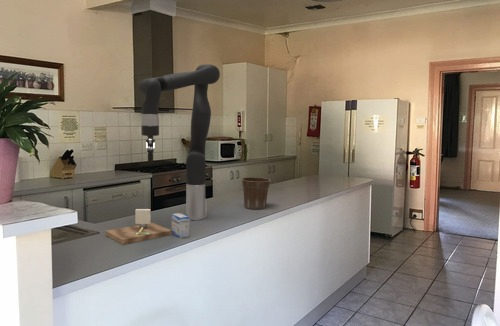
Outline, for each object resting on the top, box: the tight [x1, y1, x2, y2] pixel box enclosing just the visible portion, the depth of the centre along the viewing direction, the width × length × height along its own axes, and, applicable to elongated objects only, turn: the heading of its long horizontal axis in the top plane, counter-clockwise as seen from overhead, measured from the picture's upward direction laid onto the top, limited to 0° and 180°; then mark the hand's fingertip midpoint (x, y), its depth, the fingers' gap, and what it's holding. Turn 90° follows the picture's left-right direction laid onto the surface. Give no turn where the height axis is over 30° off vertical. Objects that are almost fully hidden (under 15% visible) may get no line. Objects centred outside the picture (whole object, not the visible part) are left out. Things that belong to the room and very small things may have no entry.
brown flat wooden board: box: [105, 222, 173, 246], centre depth 175 cm, size 22×16×2 cm
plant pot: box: [241, 176, 272, 210], centre depth 234 cm, size 16×16×16 cm
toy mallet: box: [134, 208, 152, 234], centre depth 174 cm, size 11×6×8 cm, turn 5°
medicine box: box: [171, 212, 190, 239], centre depth 177 cm, size 8×4×9 cm, turn 37°
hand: (150, 161), depth 185 cm, fingers open, 8 cm apart
